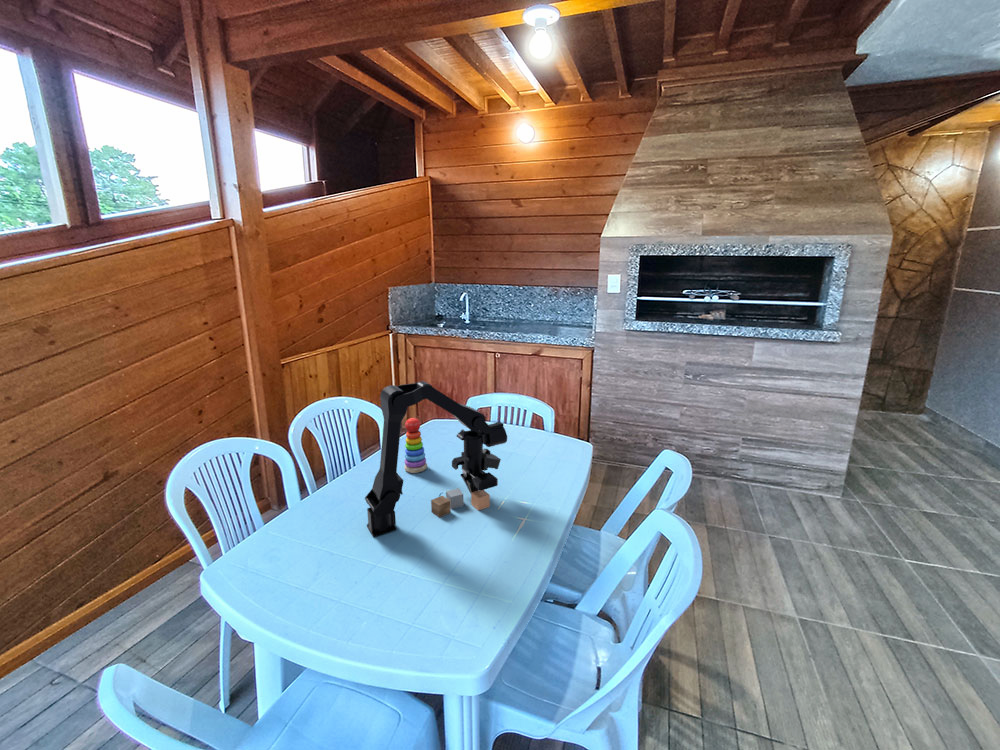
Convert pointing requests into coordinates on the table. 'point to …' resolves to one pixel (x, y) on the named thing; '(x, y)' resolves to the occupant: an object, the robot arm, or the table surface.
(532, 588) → the table surface
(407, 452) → the stacking toy
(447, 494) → the slate block
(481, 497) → the terracotta block
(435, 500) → the walnut cube
